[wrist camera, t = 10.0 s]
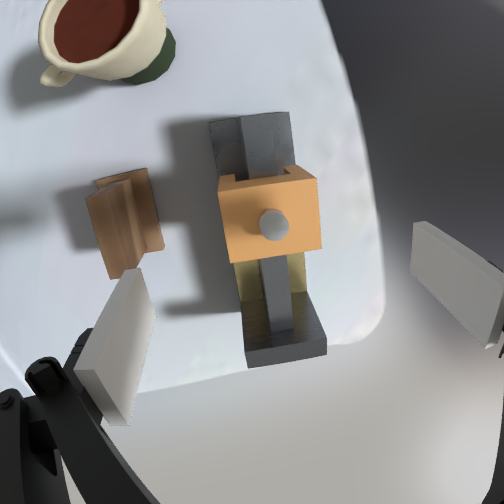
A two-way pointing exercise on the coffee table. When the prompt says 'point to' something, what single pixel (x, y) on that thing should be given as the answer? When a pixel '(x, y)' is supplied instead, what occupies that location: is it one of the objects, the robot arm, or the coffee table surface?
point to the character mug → (104, 40)
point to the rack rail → (272, 268)
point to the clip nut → (270, 214)
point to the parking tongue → (125, 220)
